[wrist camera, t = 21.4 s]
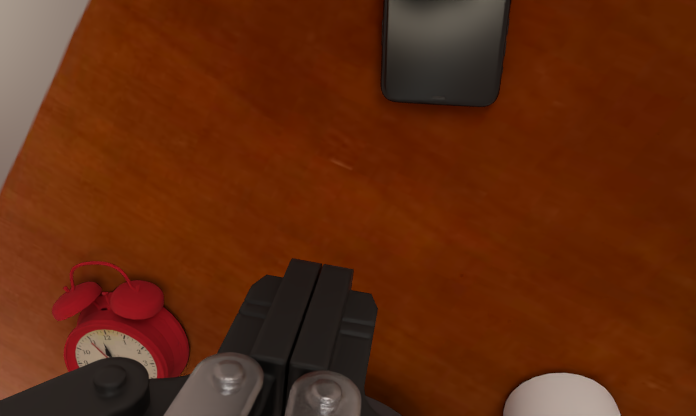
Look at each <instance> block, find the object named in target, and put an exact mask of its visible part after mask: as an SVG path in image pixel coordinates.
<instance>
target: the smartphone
mask: <svg viewBox="0 0 696 416" xmlns="http://www.w3.org/2000/svg"><path fill="white" fill-rule="evenodd" d="M510 5H511V0H384V7H383V20H382V59H381V91H382V94H383V95H384V97H385V98H386V99H388V100H390V101H392V102H399V103H415V104H433V105H451V106H470V107H485V106H489V105H491V104H492V103H494V102H495V100H496V99H497V97H498V94H499V90H500V84H501V76H502V72H503V60H504V56H505V49H506V37H507V33H508V25H509V13H510Z"/></svg>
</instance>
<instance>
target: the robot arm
mask: <svg viewBox="0 0 696 416" xmlns="http://www.w3.org/2000/svg"><path fill="white" fill-rule="evenodd" d="M353 272H354V269H349V268H343V267H338V266H332V265H327V264H324V265H323V267H322V264H321V263H315V262H310V261H304V260H299V259H293V258H292V259H291V261H290V263H289V266H288V268H287V270H286V273H285V275H284V277H283V278H282V277H276V276H271V275H266V276H264V277H263V278H261V279H260V280H259V281H257V282H256V283H255V284H253V285H252V286H251V288H250V290H249V292H248V294H247V296H246V298H245V301H244V302H243V304H242V306H241V308H240V310H239V313H238V314H237V316H236V317H235V319H234V321H233V323H232V325H231V327H230V329H229V331H228V333H227V335H226V337H225V339H224V341H223V343H222V345H221V347H220V349H219V351H218V353H217V354H215V355H212V356H210V357H207V358H206V359H204V360H202V361H201V362H200V363H199V364H198V365H197V366H196V367H195V369H194V370H193V372H192V373H191V374H189V375H186V376H181V377H171V378H153V379H149V374H148V371H147V369H146V368H145V367H144V366H143V365H142V364H141V363H140V362H138V361H136V360H133V359H130V358H126V357H109V358H104V359H100V360H97V361H94V362H92V363H90V364H87V365H85V366H82V367H80V368H77V369H75V370H73V371H70V372H68V373H65V374H63V375H61V376H58V377H56V378H53V379H51V380H49V381H46V382H44V383H41V384H39V385H37V386H34V387H32V388H29V389H27V390H25V391H22V392H20V393H17V394H15V395H13V396H10V397H8V398H5V399H3V400H0V416H381V415H380V414H378V413H377V412H376V411H375V410H374V409H373V408H372V406H371V405H370V404H369V402H368V400H367V398H366V395H365V391H364V384H365V379H366V373H367V367H368V361H369V356H370V350H371V344H372V338H373V333H374V327H375V321H376V316H377V310H378V308H377V306H376V304H375V301H374V299H373V297H372V295H371V294H369V293H364V292H358V291H353V290H351V287H352V280H353Z"/></svg>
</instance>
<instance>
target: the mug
mask: <svg viewBox="0 0 696 416" xmlns="http://www.w3.org/2000/svg"><path fill="white" fill-rule="evenodd" d="M503 416H621V415H620V412H619V410H618V407H617V405H616V403H615V401H614V399H613V397H612V396H611V394H610V393H609V392H608V391H607V390H606V389H605V388H604V387H603V386H601V385H600V384H598V383H597V382H595V381H594V380H592V379H589V378H586V377H584V376H581V375H576V374H569V373H549V374H545V375H541V376H537V377H534V378H532V379H530V380H528V381H526V382H524V383H522V384H521V385H519V386H518V387H517V388H516V389H515V390H514V391H512V393H511V394H510V396H509V397H508V399H507V400H506V403H505V407H504V411H503Z"/></svg>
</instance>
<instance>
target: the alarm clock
mask: <svg viewBox="0 0 696 416" xmlns="http://www.w3.org/2000/svg"><path fill="white" fill-rule="evenodd" d="M92 264H97V265H106V266H110V267H112V268H114V269H116V270H118V271H119V272H120V273H121V274H122V275H123V276H124V278H125V279H126V281H127V282H125V283H123V284H121V285H119V286H118V287H117V288H116V289H115V290H114V292H102V295H100V293H101V291H102V288H101V287H100V286H99V285H98V284H97V283H95V282H84V283H81V284H79V285H77V286H74V280H73V273H74V270H75V269H77V268H78V267H80V266H84V265H92ZM70 282H71V287H72V288H71V289H70V290H69V289H68V287H67V286H65V287H63V289H64V290H65V291H66V292H65V293H64V294H63V295H62V296H60V297H59V299H58V300H57V301H56V302H55V304H54V305H53V308H52V314H53V316H54V318H55V319H56V320H57V321H61V320H65V319H67V318H69V317H71V316H73V315H75V314H77V313H78V312H80V311H81V313H80V315H79V318H78V322H77V327H76V328H74V329H73V331H72V332H71V333H70V334H69V336H68V338H67V341H66V344H65V347H64V360H65V364H66V367H67V369H68V371H69V372H70V371H73V370H75V369H77V368H80V367H82V366H85V365H87V364H90V363H92V362H94V361H97V360H100V359H104V358H109V357H126V358H130V359H133V360H136V361H138V362H140V363H141V364H142V365H143V366H144V367H145V368H146V369H147V371H148V374H149V379H153V378H171V377H178V376H179V375H180V374H181V373H182V371H183V370H184V368H185V366H186V364H187V361H188V357H189V344H188V340H187V337H186V334H185V332H184V330H183V328H182V327H181V325H180V323H179V322H178V321H177V320H176V319H175V317H174V316H173V315H172V314H171V313H170V312H169V311H168V310H166V309H165V308H164V307H163V305H164V296H163V292H162V291H161V289H160V288H159V287H157V286H156V285H155V284H153V283H150V282H147V281H141V280H133V281H130V280H129V278H128V277H127V275H126V274H125V273H124V271H123V270H122V269H120V268H119V267H117V266H116V265H114V264H111V263H107V262H100V261H90V262H83V263H80V264H77V265H76V266H74V267H73V268H72V269H71V271H70Z"/></svg>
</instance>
